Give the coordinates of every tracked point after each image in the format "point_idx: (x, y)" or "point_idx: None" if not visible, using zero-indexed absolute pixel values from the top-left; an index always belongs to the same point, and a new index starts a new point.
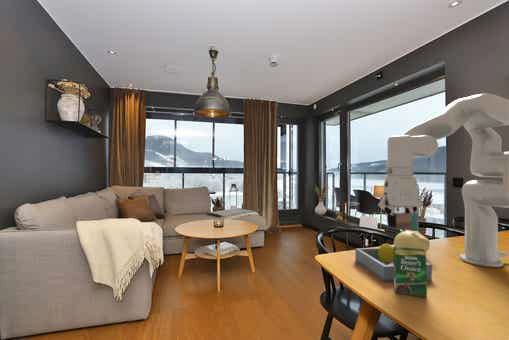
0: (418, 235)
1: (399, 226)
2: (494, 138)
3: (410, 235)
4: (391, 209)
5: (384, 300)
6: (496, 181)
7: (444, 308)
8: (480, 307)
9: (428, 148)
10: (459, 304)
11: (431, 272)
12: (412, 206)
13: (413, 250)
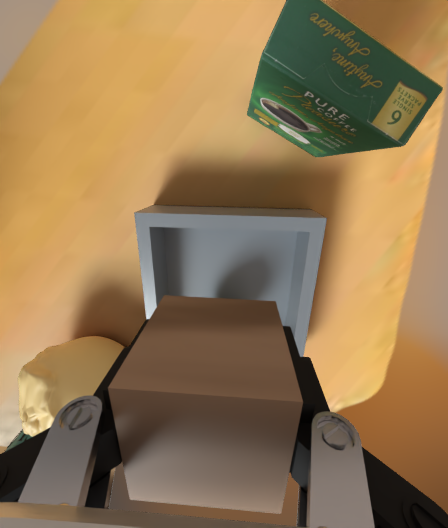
0: (42, 399)
1: (261, 311)
2: None
3: None
4: (370, 503)
5: None
6: None
7: (257, 9)
8: (138, 2)
9: None
10: (189, 31)
11: (146, 208)
12: (22, 508)
13: (351, 34)
